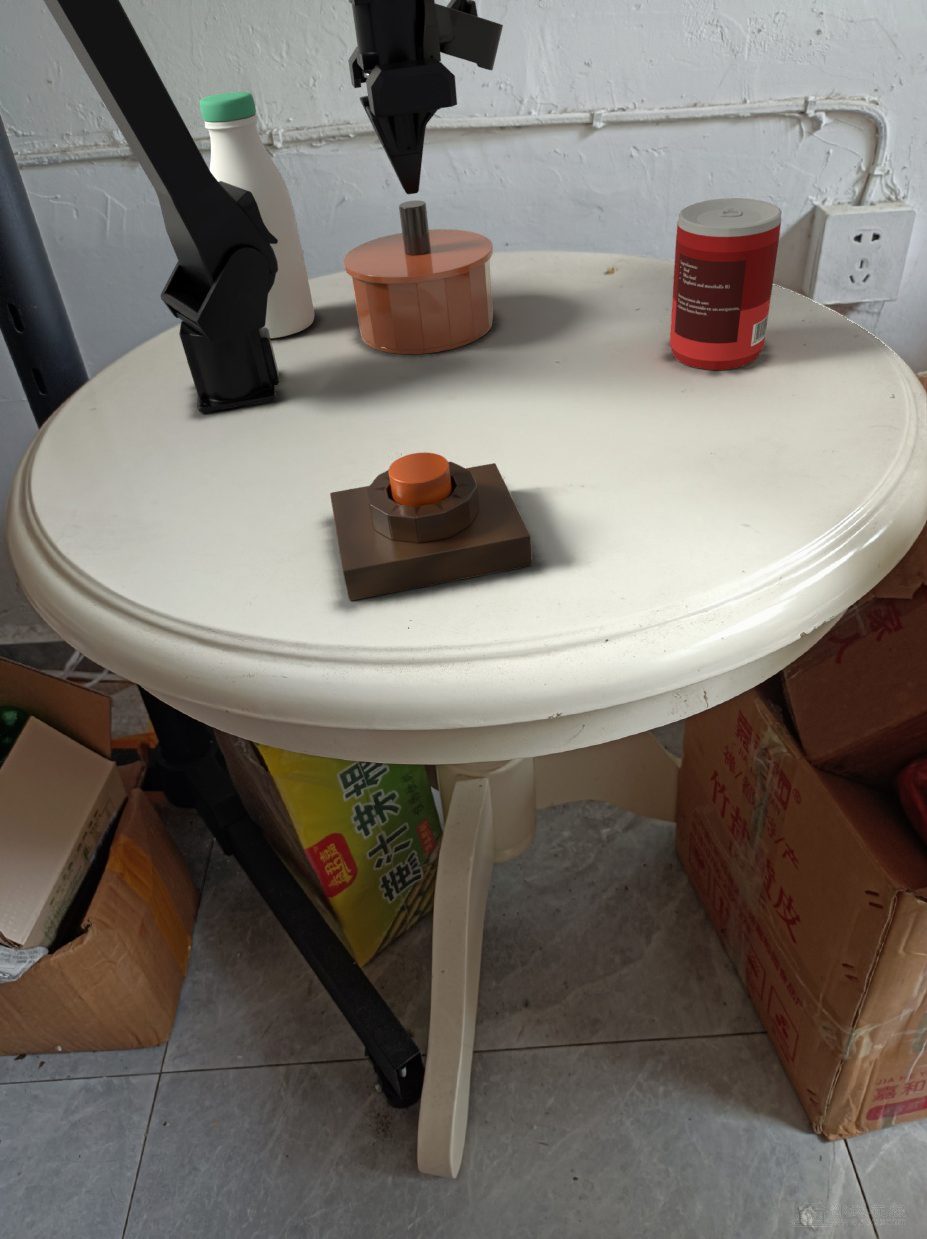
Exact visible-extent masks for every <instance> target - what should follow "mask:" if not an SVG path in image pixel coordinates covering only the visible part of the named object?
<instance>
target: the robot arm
mask: <svg viewBox="0 0 927 1239" xmlns="http://www.w3.org/2000/svg"><path fill="white" fill-rule="evenodd" d="M43 3H44V4H45V6H46V8H47V9H48V11H49V12H50V14H51V16H52V17H53V19H54V21H55V22H56V24H57V26H58V28H59V30H60V31H61V33H62V35H63V36H64V38H65V40H66V42H67V43H68V45H69V46H70V48H71V50H72V51H73V53H74V55H75V56H76V58H77V60H78V61H79V63H80V65H81V67H82V68H83V70H84V72H85V73H86V75H87V77H88V79H89V80H90V81H91V84H92V85H93V87H94V89H95V91H96V92H97V94H98V95H99V97H100V100H101V101H102V102H103V104H104V106H105V107H106V109H107V111H108V112H109V115H110V116H111V118H112V119H113V121H114V123H115V124H116V126H117V128H118V130H119V131H120V133H121V135H122V136H123V138H124V140H125V141H126V143H127V145H128V147H129V148H130V150H131V151H132V153H133V155H134V157H135V159H136V160H137V162H138V164H139V165H140V167H141V169H142V170H143V172H144V174H145V175H146V177H147V178H148V180H149V182H150V184H151V186H152V187H153V189H154V192H155V193H156V196H157V198H158V202H159V206H160V207H159V208H160V211H161V215H162V219H163V223H164V228H165V232H166V234H167V236H168V238H169V242H170V244H171V246H172V248H173V251H174V254H175V256H176V259H177V262H176V264H175V266H174V268H173V269H172V272H171V274H170V276H169V277H168V278H167V279H168V280H167V281H166V283H165V285H164V287H163V289H162V291H161V293H160V300H162V302H163V303H164V305H165V306H166V307H167V309H168V310H169V311H170V313H171V315H172V316H173V317H174V318H176V319H179V320H181V322H180V326H179V332H178V333H179V338H180V342H181V345H182V348H183V352H184V355H185V358H186V361H187V365H188V368H189V371H190V375H191V379H192V381H193V384H194V387H195V388H194V389H195V391H196V394H197V400H196V402H197V403H196V408H197V411H198V413H201V414H202V413H208V412H214V411H219V410H226V409H233V408H239V407H246V406H250V405H257V404H263V403H268V402H273V401H275V400H276V399H277V393H276V386H278V385H279V384H280V376H279V375H280V374H279V368H278V364H277V361H276V360H277V359H276V356H275V351H274V348H273V343H272V338H270V334H269V330H268V329H267V328H266V327H264V326H265V322H266V311H267V300H268V293H269V292H270V290H271V288H272V286H273V284H274V281H275V276H276V273H277V272H278V262H277V259H276V256H275V253H274V250H273V248H272V247H271V245H270V244H277V243H278V240H277V239H276V238H275V237H274V236H273V235H272V234H271V233H270V232H269V230H268V229H267V227H266V226H265V224H264V222H263V220H262V217H261V214H260V211H259V208H258V205H257V203H256V201H255V199H254V197H253V195H252V193H251V192H250V191H247V190H245V189H242V188H239V187H236V186H234V185H231V184H228V183H225V182H223V181H219V182H218V181H217V180H216V178H215V177H214V176H213V174H212V173H211V172H210V167H209V166H208V164H207V162H206V161H205V159H204V157H203V155H202V153H201V151H200V150H199V147H198V146H197V144H196V142H195V140H194V138H193V137H192V136H193V135H192V134H191V132H190V130H189V128H188V127H187V125H186V123H185V121H184V119H183V118H182V116H181V113H180V112H179V110H178V108H177V106H176V105H175V103H174V100H173V98H172V97H171V95H170V93H169V91H168V89H167V88H166V86H165V84H164V82H163V80H162V78H161V76H160V75H159V73H158V71H157V69H156V67H155V65H154V63H153V61H152V60H151V57H150V56H149V54H148V52H147V50H146V48H145V46H144V44H143V43H142V40H141V39H140V36H139V35H138V33H137V31H136V29H135V27H134V25H133V23H132V22H131V20H130V18H129V16H128V14H127V13H126V11H125V8H124V7H123V4H122V2H121V1H120V0H43ZM348 3H350V4H351V9H352V16H353V24H354V32H355V37H356V44H357V46H355V48H354V50H353V51H352V53H351V55H350V56H349V58H348V60H347V61H348V67H349V74H350V81H351V85H352V87H353V88H354V89H359V88H362V84H366V85H365V86H366V92H367V95H364V96H360V97H359V101H360V104H361V105H362V108H363V109H364V111H365V114H366V116H367V118H368V120H369V122H370V124H371V126H372V128H373V130H374V132H375V134H376V136H377V138H378V140H379V142H380V144H381V147H382V149H383V151H384V153H385V154H386V157H387V159H388V160H389V163H390V165H391V167H392V169H393V171H394V174H395V175H396V178H397V179H398V181H399V184H400V186H401V187H402V189H403V190H404V192H405V194H406V195H415V194H418V193H419V192H420V184H421V173H422V164H423V154H424V146H425V145H424V144H425V137H426V136H425V135H426V129H427V125H428V123H429V122H430V121H431V119H432V118H433V117H434V116H435V114H436V113H437V112H438V110H441V109H446V108H453V107H455V106H457V105H458V98H457V85H456V75H455V74H454V73H453V72H452V71H450V69H449V68H447V66H446V65H445V64H443V63H442V58H441V57H442V56H441V53H442V54H444V55H447V56H450V57H454V58H457V59H461V60H464V61H467V62H470V63H474V64H476V66H477V67H478V68H481V69H483V70H488V71H493V70H494V67H495V61H496V57H497V53H498V49H499V45H500V40H501V36H502V31H503V27H504V25H503V24H502V23H499V22H496V21H493V20H490V19H487V18H485V17H480V16H479V15H478V9H477V4H476V0H450V1H449V2H448V4H447V5H446V6H445V5H443V4H439V3H436V1H435V0H348ZM263 327H264V328H263Z"/></svg>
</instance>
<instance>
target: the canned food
mask: <svg viewBox="0 0 927 1239" xmlns="http://www.w3.org/2000/svg"><path fill="white" fill-rule="evenodd" d="M781 226H782V210H781V208H780V207H778V205H776V204H773V203H771V202H768V201H764V200H761V199H755V198H744V197H743V198H742V197H741V198H740V197H729V198H728V197H726V198H714V199H710V200H709V199H708V200H703V201H700V202H696V203H692V204H689V205H688V206H686V207H684V208H683V209H681V210H680V211H679V213H678V219H677V222H676V235H675V250H674V251H675V252H674V253H675V254H674V264H673V266H674V267H673V268H674V269H673V282H672V283H673V285H672V302H671V316H670V332H669V345H670V350H671V354H672V356H673V358H675V360H676V361H677V362H680V363H682V364H683V365H686V366H688V367H690V368H694V369H695V368H696V369H699V370H708V371H726V370H734V369H737V368H742V367H745V366H747V365H749V364H751V363H753V362H754V361H756V360H757V359H758V357H759V356H760V355H761V352H762V351H763V349H764V346H765V342H766V334H767V328H768V320H769V315H770V314H769V313H770V306H771V300H772V293H773V286H774V278H775V270H776V264H777V257H778V250H779V242H780V235H781V228H782V227H781Z"/></svg>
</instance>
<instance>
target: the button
mask: <svg viewBox="0 0 927 1239" xmlns="http://www.w3.org/2000/svg"><path fill="white" fill-rule="evenodd" d="M448 462H449V461H448V460H447V458H446V457H445V456H443V455H440V454H438V453H435V452H415V453H410V454H406V455H404V456H401V457H399V458H397V459H395V460H394V461H393V462H392V463H391V464H390V465H389V468H388V470H389V471H388V470H387V471H388V472H389V479H390V485H391V491H392V497H393V499H394V500H395V501H396V502H397V503H398V504H400V505H405V506H415V507H419V506H425V505H430V504H435V503H438V502H440V501H441V500H443V499H445V498H447V497H449V495H450V493H451V491H452V486H451V477H450V468H449V463H448Z"/></svg>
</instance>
